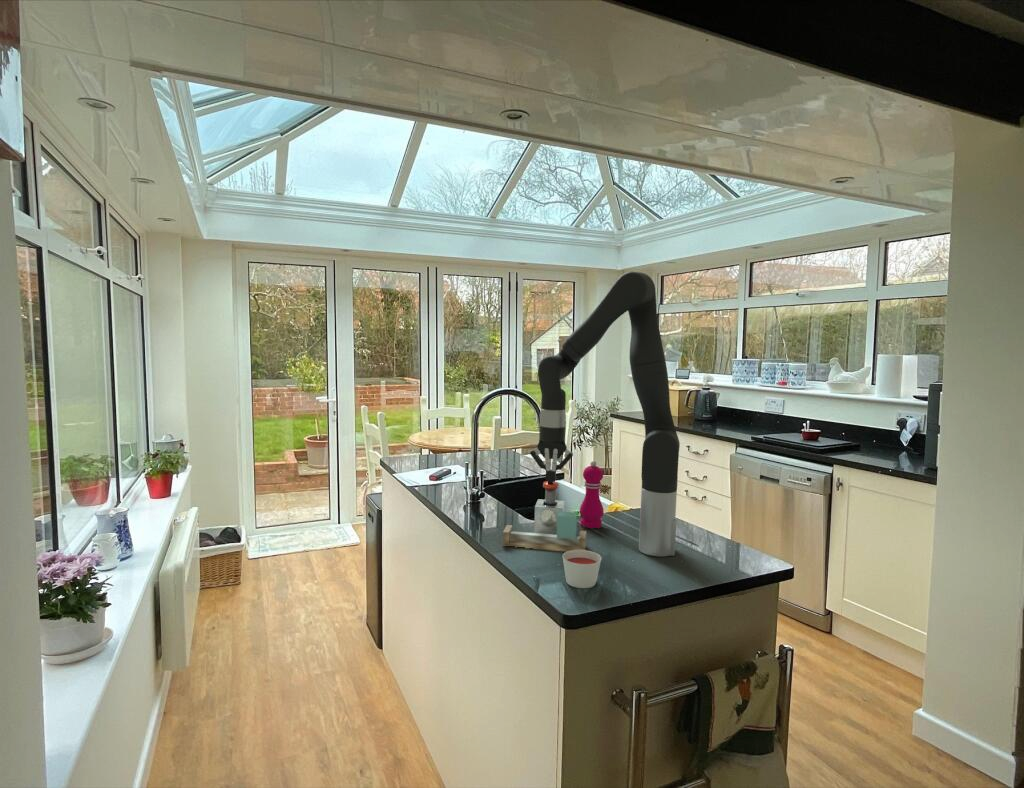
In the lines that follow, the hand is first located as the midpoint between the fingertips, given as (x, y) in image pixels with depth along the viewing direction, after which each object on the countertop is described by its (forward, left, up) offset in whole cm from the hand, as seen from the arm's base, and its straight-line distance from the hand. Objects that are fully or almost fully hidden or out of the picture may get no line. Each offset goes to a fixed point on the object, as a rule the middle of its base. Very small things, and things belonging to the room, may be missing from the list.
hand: (550, 482), depth 176 cm
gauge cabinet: (0, 0, -14) cm, 14 cm away
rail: (0, +13, -14) cm, 19 cm away
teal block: (-6, +13, -11) cm, 18 cm away
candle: (-11, +35, -14) cm, 39 cm away
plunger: (0, 0, -9) cm, 9 cm away
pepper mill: (-12, -7, -14) cm, 20 cm away
